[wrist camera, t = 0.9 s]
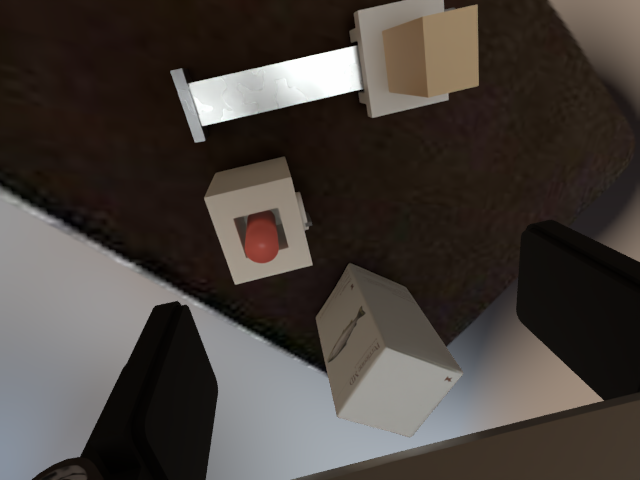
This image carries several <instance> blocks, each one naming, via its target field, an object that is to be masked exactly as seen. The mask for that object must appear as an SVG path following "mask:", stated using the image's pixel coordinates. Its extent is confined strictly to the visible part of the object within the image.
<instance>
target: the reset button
mask: <svg viewBox="0 0 640 480" xmlns="http://www.w3.org/2000/svg"><path fill="white" fill-rule="evenodd" d="M278 251H279V245H278V235H277V226H276V218H275V215H274V214H273V212H272V211H270V210H266V211H262V212H258V213H254V214H250V215H248V218H247V227H246V239H245V253H246V255H247V257H248V258H249V259H250V260H252V261H253V262H256V263H267V262H270V261H272V260H273V259H274V258H275V257H276V256H277V254H278Z"/></svg>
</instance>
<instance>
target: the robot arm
mask: <svg viewBox="0 0 640 480" xmlns="http://www.w3.org/2000/svg"><path fill="white" fill-rule="evenodd" d="M516 310H517V311H516V312H517V316H518V318H519V320H520V321H521V322H522V323H523V324H524V325H525V326H526V327H527V328H528V329H529V330H530V331H531V332H532V333H533V334H534V335H535V336H536V337H537V338H538V339H540V341H542V342H543V343H544V344H545V345H546V346H547V347H548V348H549V349H550V350H551V351H552V352H553V353H554V354H555V355H556V356H558V357H559V358H560V359H561V360H562V361H563V362H564V363H565V364H566V365H567V366H568V367H569V368H570V369H571V370H572V371H574V373H576V374H577V375H578V376H579V377H580V378H581V379H582V380H583V381H584V382H585V383H586V384H587V385H588V386H589V387H590V388H592V390H594V391H595V392H596V393H597V394H598V395H599V396H600V397H601V398H602V399H603V400H604V401H602V402H597V403H593V404H589V405H585V406H581V407H577V408H573V409H569V410H565V411H561V412H557V413H552V414H549V415H544V416H541V417H537V418H533V419H529V420H525V421H520V422H516V423H512V424H509V425H505V426H501V427H496V428H492V429H488V430H484V431H481V432H476V433H472V434H468V435H465V436H460V437H457V438H453V439H449V440H445V441H441V442H437V443H433V444H429V445H425V446H421V447H417V448H413V449H409V450H405V451H401V452H397V453H393V454H390V455H385V456H382V457H378V458H374V459H370V460H367V461H363V462H358V463H355V464H350V465H347V466H343V467H339V468H335V469H331V470H327V471H323V472H319V473H316V474H312V475H308V476H304V477H300V478H296V479H292V480H640V262H638V261H636V260H634V259H632V258H630V257H628V256H626V255H624V254H622V253H620V252H617V251H616V250H613V249H611V248H609V247H607V246H605V245H603V244H601V243H599V242H597V241H595V240H593V239H591V238H589V237H587V236H585V235H582V234H581V233H578V232H576V231H574V230H572V229H570V228H568V227H566V226H564V225H562V224H560V223H558V222H556V221H553V220H547V221H543V222H538V223H534V224H530V225H528V226H527V228H526V230H525V231H524V232H523V233H522V235H521V247H520V261H519V276H518V291H517V306H516ZM217 396H218V385H217V381H216V377H215V375H214V372H213V369H212V367H211V364H210V362H209V359H208V356H207V354H206V351H205V348H204V346H203V343H202V341H201V338H200V335H199V333H198V330H197V327H196V325H195V322H194V320H193V317H192V314H191V312H190V310H189V307H188V306H187V305H182V306H181V304H180V303H179V302H178V301H175V302H171V303H166V304H161V305H157V306H155V307H154V308H153V310H152V312H151V314H150V316H149V318H148V320H147V323H146V325H145V327H144V329H143V331H142V333H141V335H140V337H139V339H138V341H137V343H136V345H135V348H134V350H133V352H132V354H131V356H130V358H129V360H128V362H127V364H126V365H125V367H124V368H123V369H122V372H121V374H120V376H119V378H118V380H117V382H116V384H115V386H114V388H113V390H112V392H111V394H110V396H109V398H108V400H107V403H106V405H105V407H104V409H103V411H102V413H101V415H100V417H99V419H98V421H97V423H96V425H95V428H94V430H93V431H92V434H91V435H90V438H89V440H88V442H87V444H86V446H85V448H84V450H83V452H82V454H81V456H80V457H77V458H71V459H66V460H64V461H61V462H59V463H57V464H54V465H52V466H51V467H49V468H47V469H46V470H44V471H43V472H41V473H39V474H38V475H37V476H36V477H35V478H33V479H32V480H206V473H207V466H208V459H209V452H210V445H211V437H212V431H213V424H214V417H215V410H216V402H217Z"/></svg>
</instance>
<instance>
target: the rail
mask: <svg viewBox="0 0 640 480" xmlns="http://www.w3.org/2000/svg"><path fill="white" fill-rule="evenodd" d="M450 10H455V9H454V8H450V9H445V10H444V12H446V11H450ZM170 72H171V75H172V78H173V80H174V83H175V86H176V89H177V92H178V95H179V98H180V101H181V104H182V106H183V109H184V112H185V115H186V118H187V121H188V124H189V127H190V130H191V132H192V135H193V138H194V141H195V143H197V142H202V141H206V140H207V138H208V137H209V136H210V135H209V132H208V129H207V126H206V125H210V124H214V123H218V122H223V121H227V120H231V119H236V118H240V117H244V116H249V115H253V114H257V113H262V112H266V111H270V110H275V109H279V108H283V107H288V106H292V105H296V104H300V103H305V102H309V101H313V100H318V99H322V98H326V97H331V96H335V95H339V94H344V93H348V92H352V91H357V90H361V89H364V84H363V77H362V70H361V63H360V56H359V48H358V45H357V46H352V47H348V48H343V49H339V50H335V51H330V52H326V53H321V54H317V55H312V56H308V57H304V58H299V59H295V60H290V61H286V62H281V63H277V64H273V65H268V66H264V67H259V68H255V69H250V70H246V71H242V72H237V73H233V74H228V75H224V76H219V77H215V78H211V79H206V80H202V81H197V82H193V83H192V80H191V77H190V74H189V71H188V69H183V68H181V69H177V70H172V71H170Z"/></svg>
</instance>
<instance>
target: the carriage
mask: <svg viewBox="0 0 640 480" xmlns="http://www.w3.org/2000/svg"><path fill="white" fill-rule="evenodd" d="M354 20H355V27H356V28H354V29H352V30H350V31H349V33H350V40H351V43H352V42H357V41H358V48H359V56H360V63H361V70H362V77H363V84H364V91H361V92H358V94H359V101H360V103H364V104H366V105H367V112H368V116H369V117H371V118H374V117H378V116H382V115H387V114H391V113H395V112H399V111H403V110H408V109H412V108H416V107H420V106H425V105H429V104H433V103H437V102H442V101H446V100H449V99H448V93H450V92H455V91H459V90H463V89H467V88H472V87H476V86H479V71H478V8H477V5H473V6H468V7H464V8H459V9H455V10H450V11H446V12H444V0H404V1H399V2H395V3H390V4H386V5H381V6H377V7H372V8H368V9H363V10H359V11H356V12H355V13H354Z"/></svg>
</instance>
